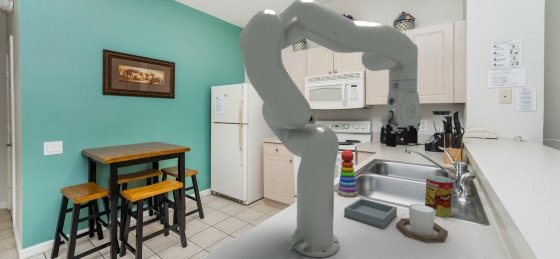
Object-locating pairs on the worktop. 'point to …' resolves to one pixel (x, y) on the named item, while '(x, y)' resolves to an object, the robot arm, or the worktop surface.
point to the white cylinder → (421, 219)
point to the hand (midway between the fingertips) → (401, 144)
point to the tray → (371, 213)
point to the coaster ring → (420, 237)
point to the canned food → (439, 195)
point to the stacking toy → (347, 175)
